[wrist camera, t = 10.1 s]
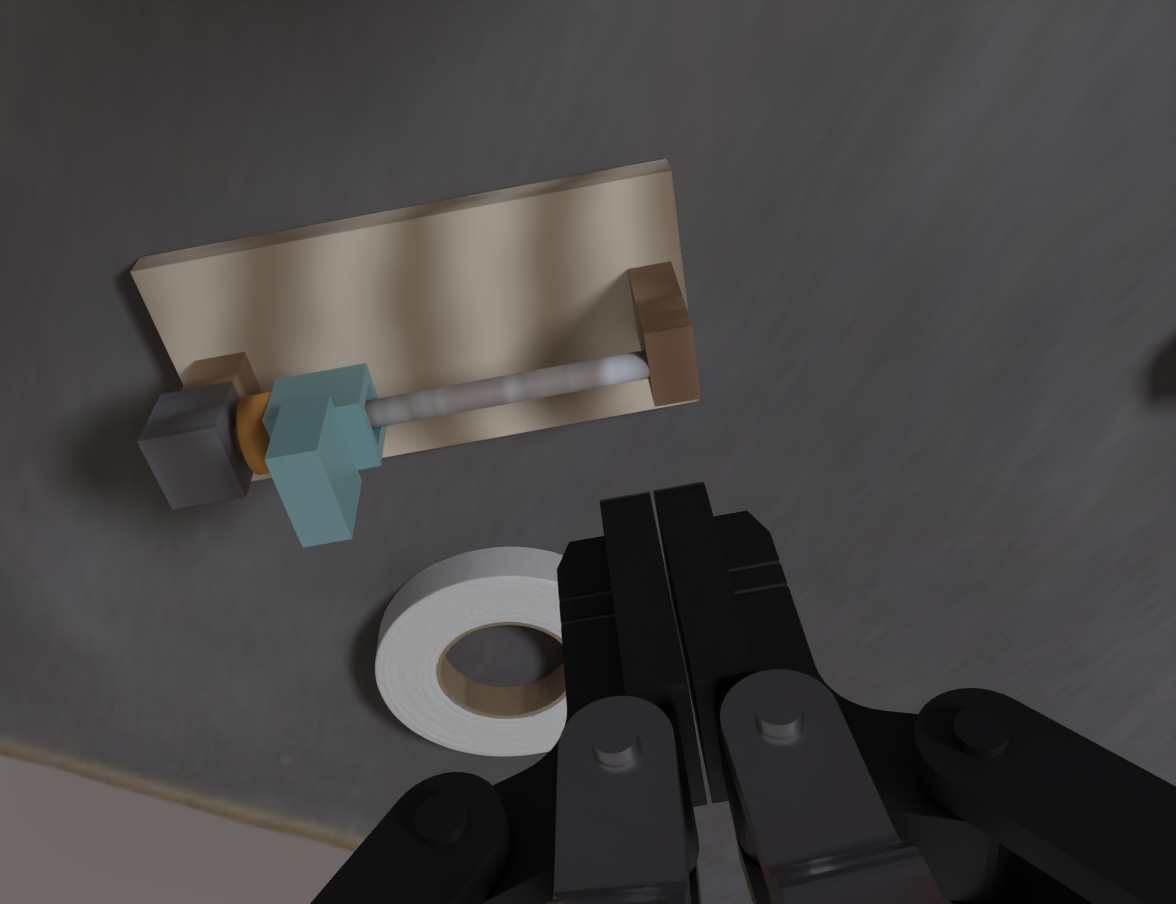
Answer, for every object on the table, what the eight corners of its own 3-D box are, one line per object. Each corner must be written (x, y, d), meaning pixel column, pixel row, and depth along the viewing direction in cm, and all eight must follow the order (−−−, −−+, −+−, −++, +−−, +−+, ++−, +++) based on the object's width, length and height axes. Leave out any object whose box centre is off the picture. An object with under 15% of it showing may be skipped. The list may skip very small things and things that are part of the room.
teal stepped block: (362, 350, 44) (343, 445, 38) (390, 434, 46) (376, 534, 40) (270, 367, 44) (237, 464, 38) (304, 450, 46) (277, 551, 41)
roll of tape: (418, 741, 67) (416, 777, 65) (345, 570, 58) (339, 606, 56) (651, 698, 67) (656, 734, 64) (612, 520, 58) (618, 554, 55)
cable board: (666, 158, 45) (699, 240, 38) (693, 385, 52) (726, 489, 45) (139, 257, 46) (75, 355, 39) (236, 467, 53) (196, 583, 46)
